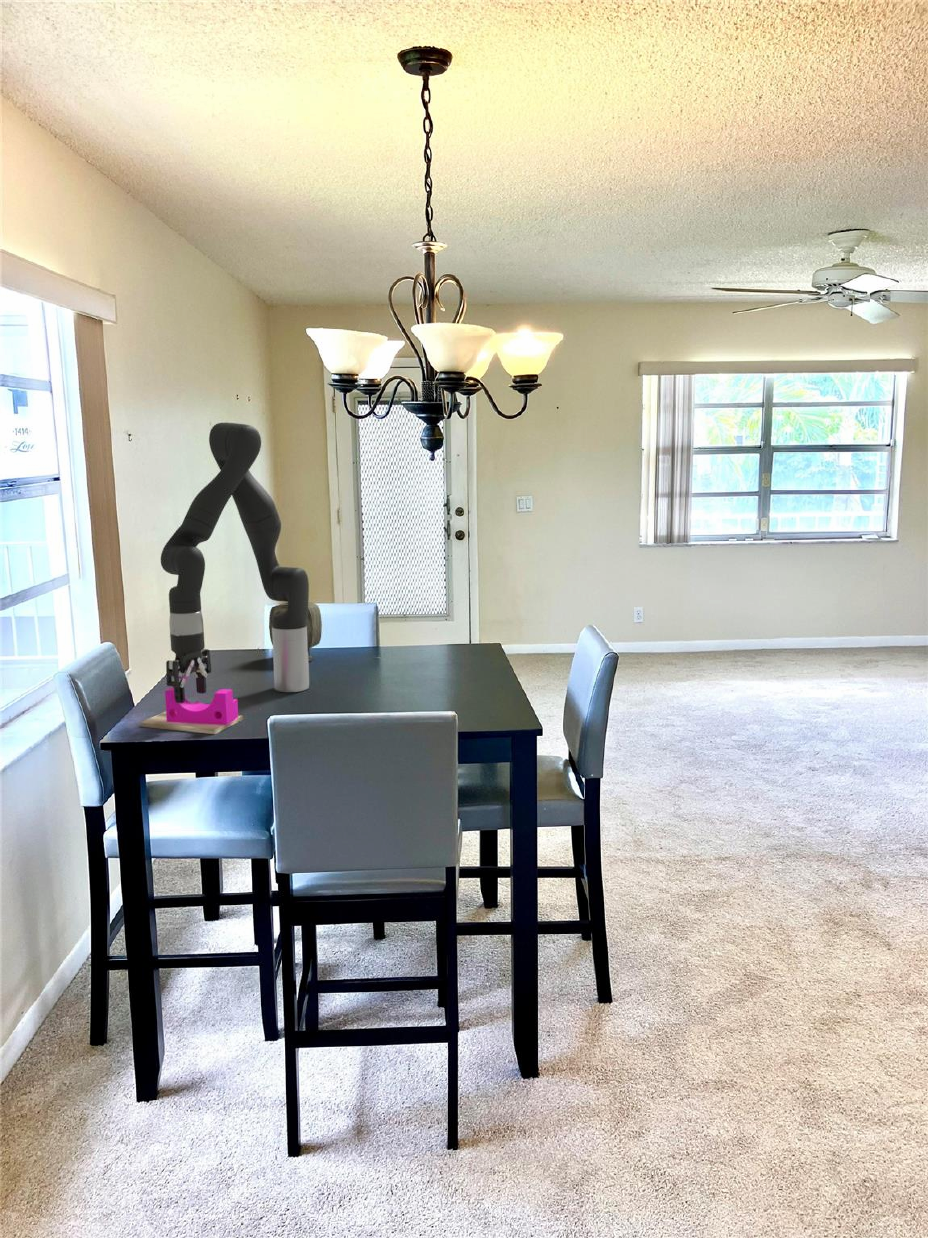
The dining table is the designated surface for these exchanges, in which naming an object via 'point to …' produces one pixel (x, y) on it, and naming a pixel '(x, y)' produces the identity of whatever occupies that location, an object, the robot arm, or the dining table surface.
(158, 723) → the oak board
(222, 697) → the magenta cradle block
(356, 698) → the dining table surface
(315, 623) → the tabletop clock
